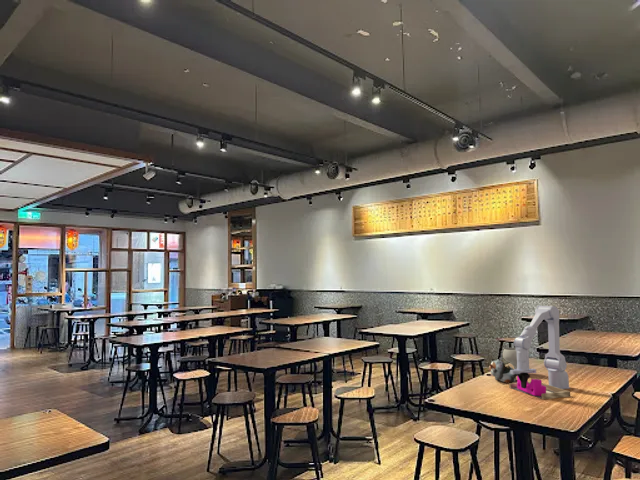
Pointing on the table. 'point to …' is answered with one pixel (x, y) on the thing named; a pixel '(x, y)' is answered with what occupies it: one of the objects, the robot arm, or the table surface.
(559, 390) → the wooden board
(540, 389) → the toy block
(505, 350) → the chalice
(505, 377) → the grey plush toy
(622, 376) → the table surface
